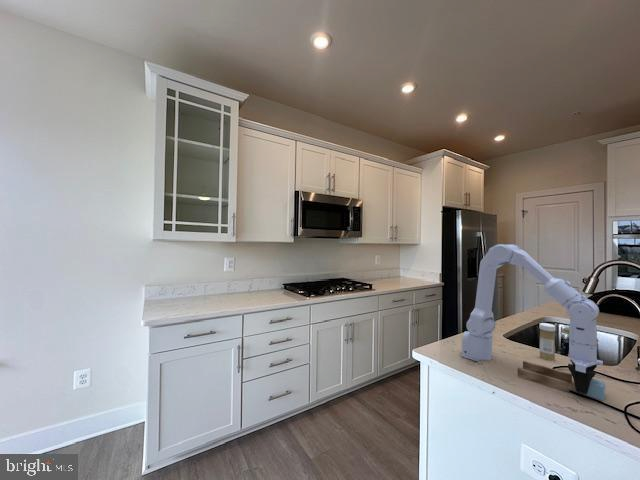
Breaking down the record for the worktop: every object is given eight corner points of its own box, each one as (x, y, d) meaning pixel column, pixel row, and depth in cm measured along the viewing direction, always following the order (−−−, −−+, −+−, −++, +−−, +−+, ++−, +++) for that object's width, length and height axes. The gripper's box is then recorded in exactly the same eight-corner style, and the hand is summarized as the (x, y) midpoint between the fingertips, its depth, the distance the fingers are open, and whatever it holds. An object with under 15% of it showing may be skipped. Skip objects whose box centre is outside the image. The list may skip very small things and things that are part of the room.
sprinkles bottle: (557, 361, 99) (557, 324, 99) (552, 364, 96) (552, 327, 96) (541, 356, 103) (541, 321, 103) (537, 359, 100) (537, 323, 100)
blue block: (580, 380, 76) (603, 387, 73) (582, 375, 79) (605, 382, 76) (580, 396, 76) (603, 404, 73) (582, 391, 79) (604, 398, 76)
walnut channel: (517, 379, 85) (517, 368, 85) (523, 371, 91) (523, 360, 91) (568, 395, 77) (568, 383, 77) (571, 385, 82) (572, 373, 82)
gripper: (602, 353, 70) (601, 405, 70) (603, 339, 80) (603, 385, 80) (565, 345, 75) (565, 394, 75) (570, 333, 85) (570, 376, 85)
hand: (582, 389), depth 78 cm, fingers closed on blue block, 4 cm apart
